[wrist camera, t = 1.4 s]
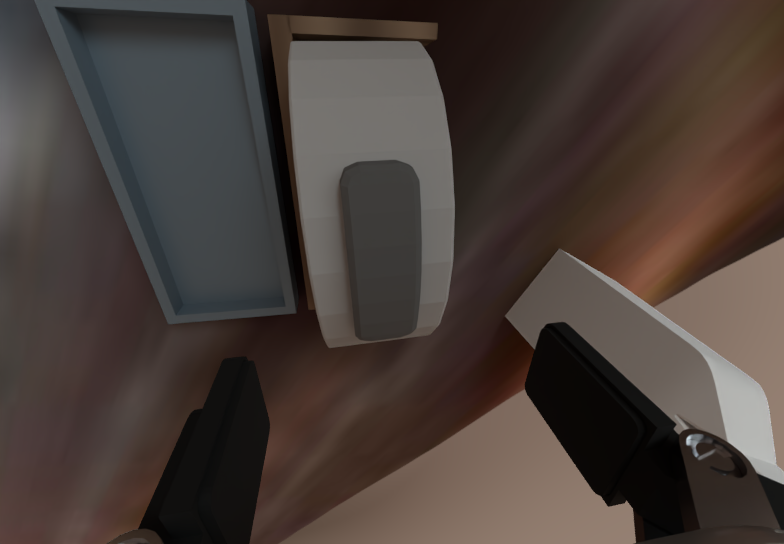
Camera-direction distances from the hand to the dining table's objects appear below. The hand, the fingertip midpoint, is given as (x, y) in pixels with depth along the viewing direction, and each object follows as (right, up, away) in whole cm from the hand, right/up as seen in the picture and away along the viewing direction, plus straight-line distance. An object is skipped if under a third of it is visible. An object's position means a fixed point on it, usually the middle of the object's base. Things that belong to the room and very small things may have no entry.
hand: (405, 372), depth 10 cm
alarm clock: (-4, +13, +22) cm, 26 cm away
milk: (+23, 0, +35) cm, 42 cm away
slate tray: (-18, +12, +20) cm, 29 cm away
